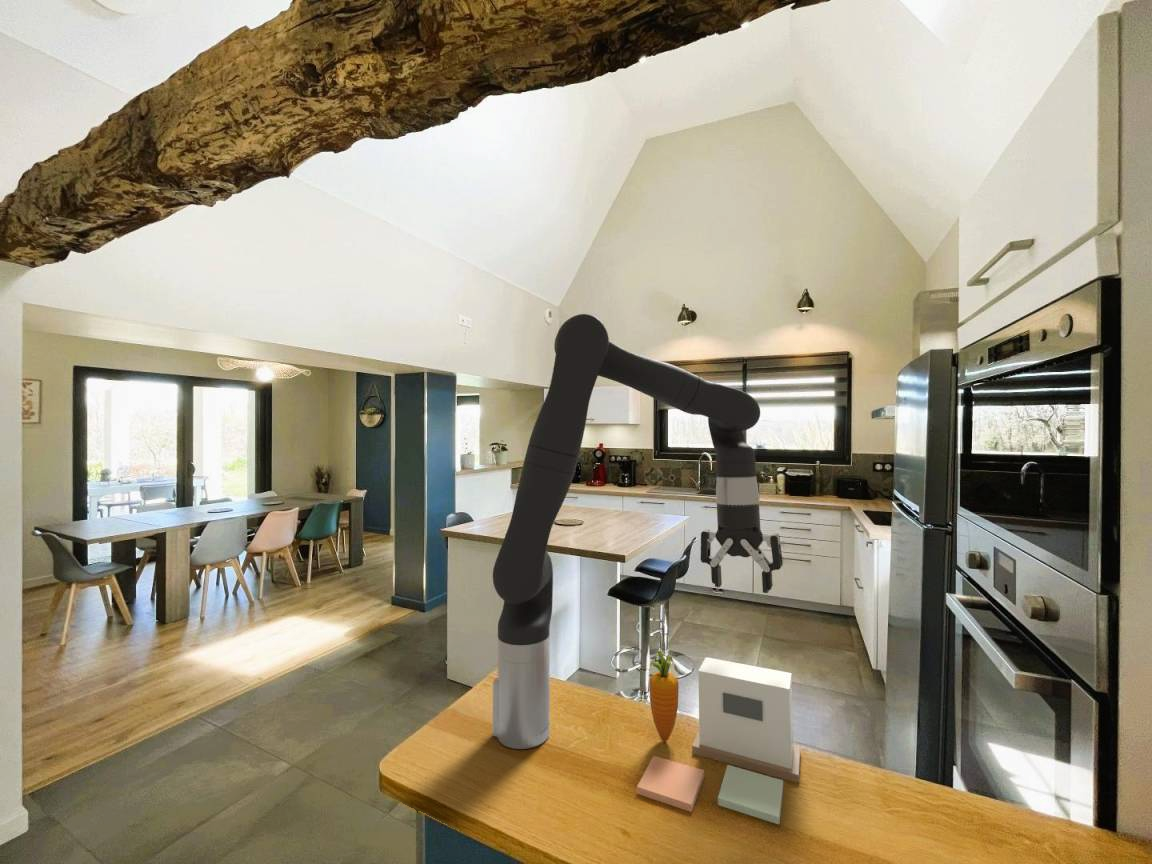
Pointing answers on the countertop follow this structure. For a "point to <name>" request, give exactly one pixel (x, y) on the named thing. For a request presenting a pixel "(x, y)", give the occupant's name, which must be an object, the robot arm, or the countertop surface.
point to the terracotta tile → (671, 783)
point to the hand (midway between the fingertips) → (741, 589)
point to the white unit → (747, 718)
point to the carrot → (663, 697)
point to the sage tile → (751, 794)
